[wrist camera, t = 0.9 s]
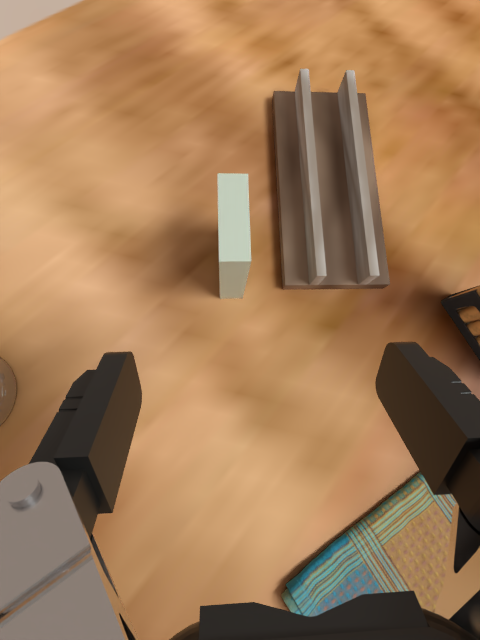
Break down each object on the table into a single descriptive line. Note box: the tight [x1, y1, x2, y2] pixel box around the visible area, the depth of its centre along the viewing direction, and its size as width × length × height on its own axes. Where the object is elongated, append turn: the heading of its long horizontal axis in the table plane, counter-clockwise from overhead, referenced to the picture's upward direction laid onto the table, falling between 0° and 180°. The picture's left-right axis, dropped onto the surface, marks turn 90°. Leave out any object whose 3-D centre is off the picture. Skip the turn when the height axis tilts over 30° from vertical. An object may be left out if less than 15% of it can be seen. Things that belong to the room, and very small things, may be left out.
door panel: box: [218, 173, 251, 299], centre depth 32 cm, size 3×8×11 cm, turn 2°
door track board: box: [272, 69, 390, 289], centre depth 38 cm, size 12×26×4 cm, turn 2°
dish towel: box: [281, 471, 456, 617], centre depth 31 cm, size 17×23×2 cm
